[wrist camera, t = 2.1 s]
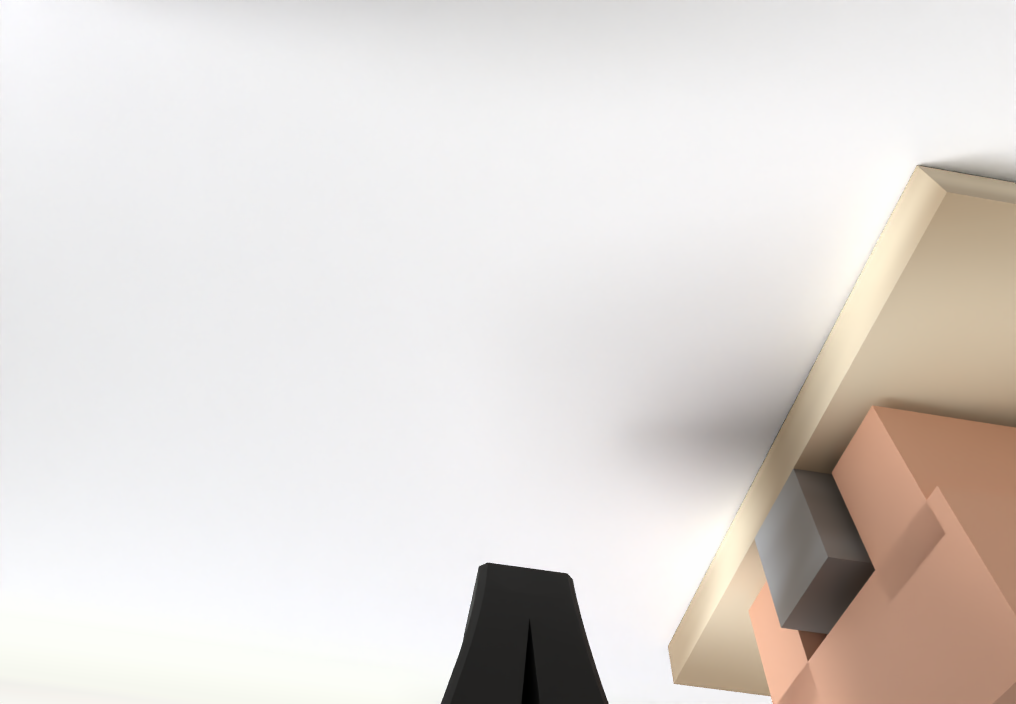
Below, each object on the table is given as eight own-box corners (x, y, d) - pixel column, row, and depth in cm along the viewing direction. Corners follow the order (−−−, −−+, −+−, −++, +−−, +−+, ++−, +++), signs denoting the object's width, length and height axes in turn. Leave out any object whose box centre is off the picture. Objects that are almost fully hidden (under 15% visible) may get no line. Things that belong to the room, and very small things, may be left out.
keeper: (963, 648, 16) (1096, 907, 12) (743, 619, 16) (808, 874, 12) (1164, 435, 12) (1451, 713, 8) (880, 391, 12) (1041, 658, 8)
